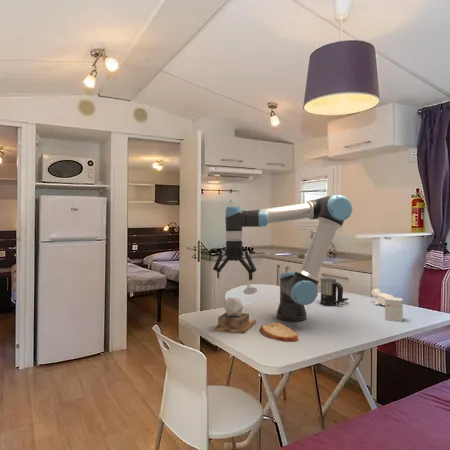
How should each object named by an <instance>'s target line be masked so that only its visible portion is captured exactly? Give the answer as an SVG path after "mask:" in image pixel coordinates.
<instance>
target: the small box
mask: <svg viewBox="0 0 450 450" xmlns="http://www.w3.org/2000/svg"><path fill="white" fill-rule="evenodd" d="M403 305H404V304H403V298H402V297H394V298H392V297H385V305H384V320H385V319H389V320H388V321H392V320H397V321H396V322H403V315H404V314H403V311H404V310H403Z"/></svg>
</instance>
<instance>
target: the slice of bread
mask: <svg viewBox="0 0 450 450" xmlns="http://www.w3.org/2000/svg"><path fill="white" fill-rule="evenodd" d="M259 332H260V333H261V335H263V336H265V337H267V338H269V339H272V340H276V341H280V342H285V343H288V342H289V343H291V342H292V343H295V342H299V336H298V334H297V333H296V331H294V330H293V329H291V328H290V327H288V326H286V325H285V324H282V323H280V322H279V321H277V322H276V321H275V322H272V323H268V324H266V325H264V324H261V325H260V328H259Z"/></svg>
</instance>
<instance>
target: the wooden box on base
mask: <svg viewBox="0 0 450 450" xmlns="http://www.w3.org/2000/svg"><path fill="white" fill-rule="evenodd" d="M256 323H257V319H252V318H250V314H249V313H244V312H241V314H240V316H228V315H227V313H226V312H224V313H223V314H221V315H219V316H217V325H216V326H214V330H215V331H222V332H229V333H238V334H246V333H247V332H248V331H249V330H250V329H251V328H252V327H253V326H255V325H256Z"/></svg>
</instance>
